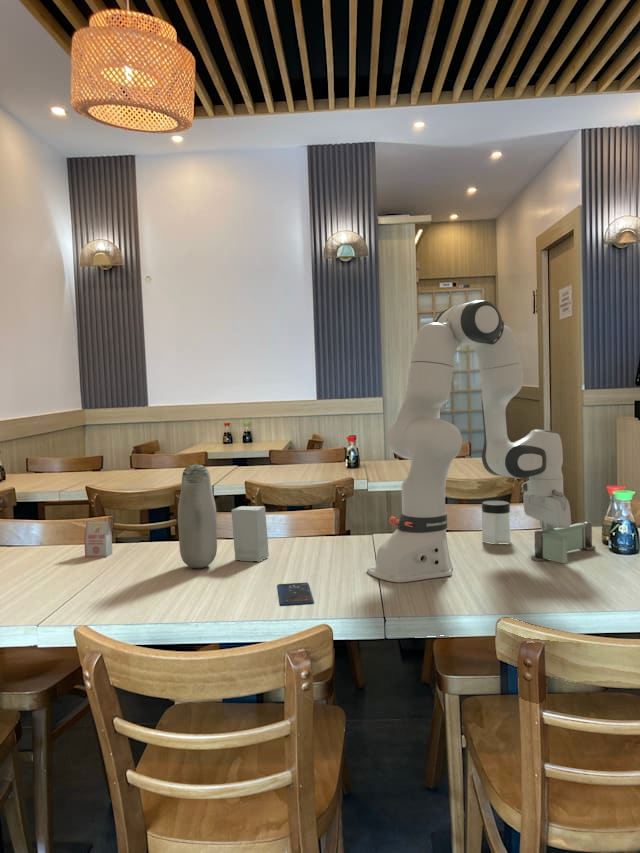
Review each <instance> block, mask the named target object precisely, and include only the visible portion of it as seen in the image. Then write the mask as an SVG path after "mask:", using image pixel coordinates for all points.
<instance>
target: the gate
mask: <svg viewBox="0 0 640 853" xmlns="http://www.w3.org/2000/svg"><path fill="white" fill-rule="evenodd" d="M543 531H544V532H545V533H546V532H547V533H552V534H557V535H561V536H566V537H567V553H568V552H573V551H574V550H575V551H576V550H579V549H580V548H584V547H585V524H583V523H582V522H578V523H573V524H572V523H571V525H570V527H568V528H557V527H553V529H548V530H543ZM580 550H581V549H580Z"/></svg>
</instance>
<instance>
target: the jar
mask: <svg viewBox="0 0 640 853" xmlns="http://www.w3.org/2000/svg"><path fill="white" fill-rule="evenodd" d="M481 529H482V530H481V535H482V536H481V539H482V541H485V542H490V543H494V544H499V543H510V542H511V503H510V502H509V501H504V500H486V501H483V502H481ZM482 541H481V542H482Z"/></svg>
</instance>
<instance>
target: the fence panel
mask: <svg viewBox="0 0 640 853" xmlns="http://www.w3.org/2000/svg"><path fill="white" fill-rule="evenodd" d="M542 537H543V558H545V559H549V560H550V561H553V562H557V563H561V564H566V563H568V552H567V537H566V536H561V535H557V534H552V533H547V532H546V533H542ZM549 560H548V561H549Z"/></svg>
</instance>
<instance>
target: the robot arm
mask: <svg viewBox="0 0 640 853" xmlns="http://www.w3.org/2000/svg"><path fill="white" fill-rule="evenodd" d="M463 346H464V347H469V346H471V348H473V350H474V351H475V354H476V356H477V361H478V362H477V363H478V369H479V377H480V382H481V383H480V384H481V412H482V422H483V434H484V439H483V440H484V441H483V448H482V452H481V460H482V465H483V467H484V469H485V470H486V471H487V472H488V473H490V474H491V475H493V476H500V477H507V478H513V479H525V478H528V480H527V481H525V482H523V483H522V484H521V490H522V491H523V495H522V496H523V510H524V514H525V515H526V516H528V517H531V518H532V519H535V520H537V521H539V525H540V526H539V527H540V528H541V529H540V530H541V531H543V530H548V529H553V528H568V527H570V525H572V517H571V516H572V514H571V507H570V502H569V500H568V499H567V497H566V496H565V493H564V475H563V474H564V473H563V472H562V467H563V463H564V457H563V456H564V454H563V453H564V452H563V443H562V438H561V437H560V434H559V433H558V432H557V431H553V430H549V429H548V430H547V429H542V428H541V429H538V428H534V429H531V430H530V432H529V433H528V434H527V435H525V436H524V437H522V438H520V439H518V440H515V441H513V442H512V441H511V440H510V439H509V436H508V426H507V418H506V410H507V406H508V404H509V403H510V401H511V399H513V398H514V397H516V396H517V394H519V392H520V391H521V389H522V387H523V385H524V369H523V363H522V358H521V352H520V350H519V346H518V343H517V339H516V337H515V334H514V332H513V330H512V329H511V327H509V326H507V325H505V322H504V321H503V318H502V315H501V313H500V310H499V309H498V308H497V306H496V305H495V304H494V303H493V302H492V301H491V302H490V301H488V300H484V299H483V300H472V301H470V302H465V303H463V302H462V303H459V304H456V305H454V306H452V307H451V308H447V309H444V310H443V311H441V312H440V313H439V314H438V316H436V318H435V320H434V322H429V323H426V324H424V325H422V326H421V327H420V328H419V329H418V332H417V335H416V338H415V341H414V344H413V349H412V353H411V358H410V363H409V372H408V378H407V379H408V380H407V386H406V391H405V395H404V397H403V401H402V404H401V407H400V409H399V411H398V414H397V416H396V418H395V419H394V421H393V422H392V423H391V425H389V427H388V429H387V431H386V436H385V441H386V445H387V447H388V448H389V450H390V451H391V452H392V453H394V454H395V455H397V456H399V457H401V458H403V459H405V460H406V459H407V460H411V462H410V467H409V471H408V475H407V477H406V478H405V480H404V481H403V482H402V484H401V511H402V512H401V514H400V516H399V518H398V517H396V516H390V518H389V520H388V521H389V524H390V525H394V526H396V530H395V531H394V532H393V533H392V534H391V535H389V537H387V539H386V540H385V541H384V542H383V543H382V544H380V546H378V548H377V553H376V559H375V560H376V561H375V564H373V565H369V566H367V570H366V571H367V573H368V574H369V575H371V576H373V577H375V578H377V579H380V580H384V581H387V582H393V583H408V582H415V581H420V580H422V581H423V580H428V579H434V578H435V579H436V578H443V577H448V576H449V577H451V576H452V575H453V574H452V573H453V568H454V567H453V564H452V560H451V556H450V550H449V545H448V544H449V543H448V537H447V529H448V515H447V513H446V484H447V483H446V482H447V478H448V474H449V471H450V467H451V464H452V462H453V461H454V459H456V457H457V456H458V455H459V453H460V452H461V449H462V445H463V437H462V434H461V431H460V430H459V428H458V427H457V426H456V425H455V424H453V423H451V422H449V421H446V420H443V419H439V418H437V417H438V415H439V412H440V410H441V408H442V407H443V406H444V404H446V403H447V401H448V400H449V398H450V396H451V389H452V380H453V374H454V365H455V356H456V352H457V350H458V348H459V347H463Z"/></svg>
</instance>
